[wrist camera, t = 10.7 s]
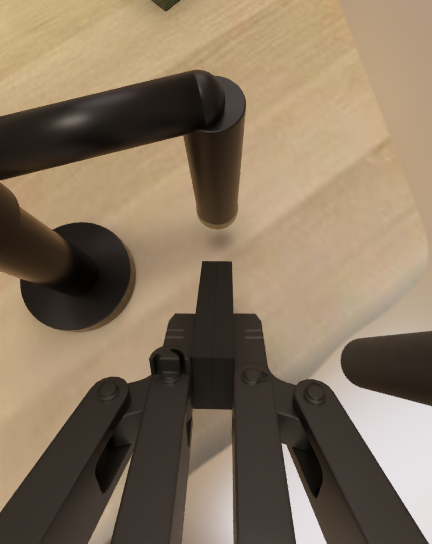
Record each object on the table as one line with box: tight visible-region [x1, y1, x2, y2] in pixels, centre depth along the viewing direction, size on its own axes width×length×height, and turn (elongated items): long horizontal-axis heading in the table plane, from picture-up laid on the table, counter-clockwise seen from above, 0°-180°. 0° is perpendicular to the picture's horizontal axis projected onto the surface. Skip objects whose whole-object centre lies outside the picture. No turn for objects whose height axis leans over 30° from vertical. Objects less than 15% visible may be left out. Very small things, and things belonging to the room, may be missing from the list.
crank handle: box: [0, 70, 246, 253], centre depth 16 cm, size 16×4×11 cm, turn 105°
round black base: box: [0, 207, 135, 332], centre depth 22 cm, size 9×9×12 cm
